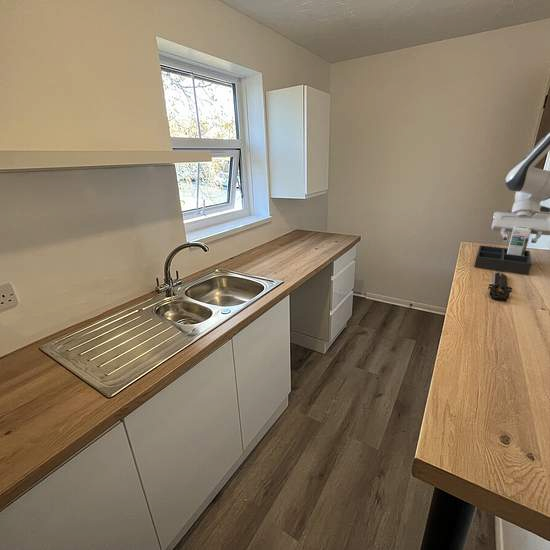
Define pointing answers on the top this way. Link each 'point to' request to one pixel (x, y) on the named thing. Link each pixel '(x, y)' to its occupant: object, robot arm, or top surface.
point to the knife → (496, 285)
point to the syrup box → (519, 240)
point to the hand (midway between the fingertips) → (518, 240)
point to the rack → (502, 260)
